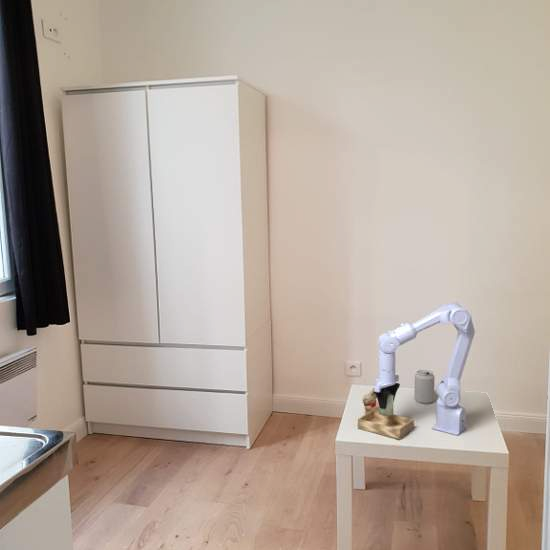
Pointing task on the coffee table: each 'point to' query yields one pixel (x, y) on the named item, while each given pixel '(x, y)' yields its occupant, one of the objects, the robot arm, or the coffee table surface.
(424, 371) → the can
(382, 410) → the rounded sage cylinder
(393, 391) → the robot arm
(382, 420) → the bamboo box
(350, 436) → the coffee table surface
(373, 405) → the beige lumpy upright piece
